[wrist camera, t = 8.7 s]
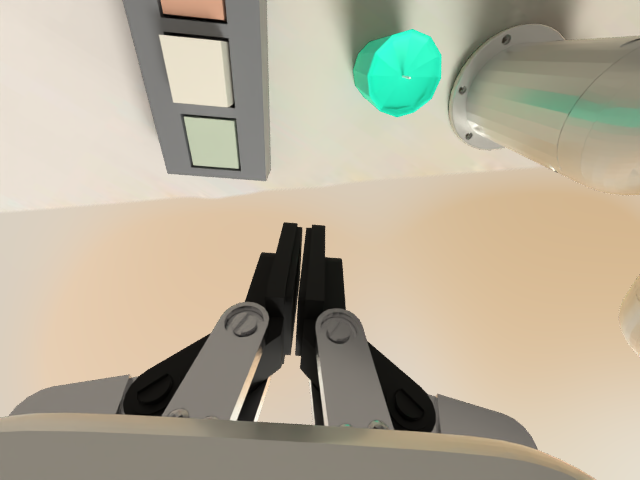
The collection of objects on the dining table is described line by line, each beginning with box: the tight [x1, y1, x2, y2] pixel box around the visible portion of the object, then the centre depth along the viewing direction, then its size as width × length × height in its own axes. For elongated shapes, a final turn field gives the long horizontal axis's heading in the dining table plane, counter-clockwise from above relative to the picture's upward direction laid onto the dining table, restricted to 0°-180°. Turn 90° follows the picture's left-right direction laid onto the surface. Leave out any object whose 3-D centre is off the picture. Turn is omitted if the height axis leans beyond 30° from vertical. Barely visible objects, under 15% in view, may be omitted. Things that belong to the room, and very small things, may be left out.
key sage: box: [184, 114, 241, 169], centre depth 32 cm, size 5×5×3 cm
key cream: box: [159, 35, 235, 107], centre depth 26 cm, size 5×5×3 cm
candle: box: [353, 29, 441, 117], centre depth 25 cm, size 6×6×12 cm
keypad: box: [123, 0, 271, 181], centre depth 28 cm, size 12×22×4 cm, turn 175°
